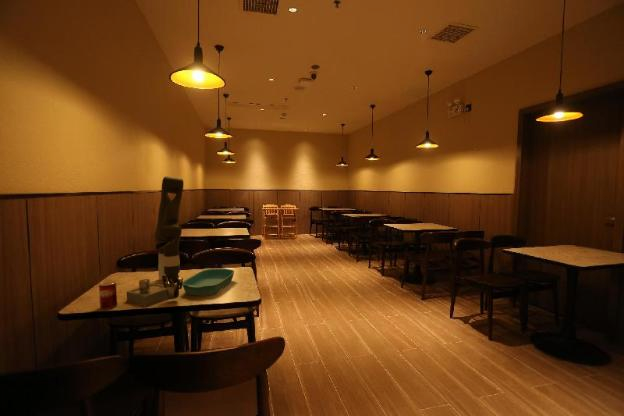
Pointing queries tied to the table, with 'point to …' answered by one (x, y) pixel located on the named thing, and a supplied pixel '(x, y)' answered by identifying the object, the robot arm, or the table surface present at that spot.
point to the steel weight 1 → (144, 286)
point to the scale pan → (152, 290)
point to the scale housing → (147, 296)
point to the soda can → (108, 295)
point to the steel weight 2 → (171, 292)
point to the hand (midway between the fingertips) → (173, 296)
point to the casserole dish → (208, 281)
